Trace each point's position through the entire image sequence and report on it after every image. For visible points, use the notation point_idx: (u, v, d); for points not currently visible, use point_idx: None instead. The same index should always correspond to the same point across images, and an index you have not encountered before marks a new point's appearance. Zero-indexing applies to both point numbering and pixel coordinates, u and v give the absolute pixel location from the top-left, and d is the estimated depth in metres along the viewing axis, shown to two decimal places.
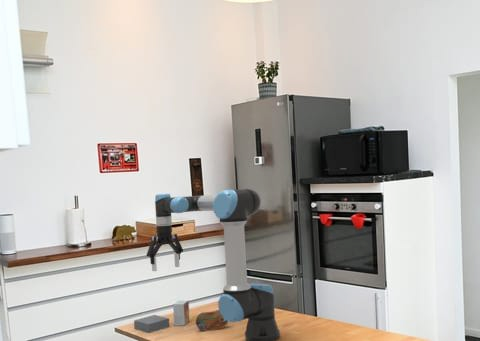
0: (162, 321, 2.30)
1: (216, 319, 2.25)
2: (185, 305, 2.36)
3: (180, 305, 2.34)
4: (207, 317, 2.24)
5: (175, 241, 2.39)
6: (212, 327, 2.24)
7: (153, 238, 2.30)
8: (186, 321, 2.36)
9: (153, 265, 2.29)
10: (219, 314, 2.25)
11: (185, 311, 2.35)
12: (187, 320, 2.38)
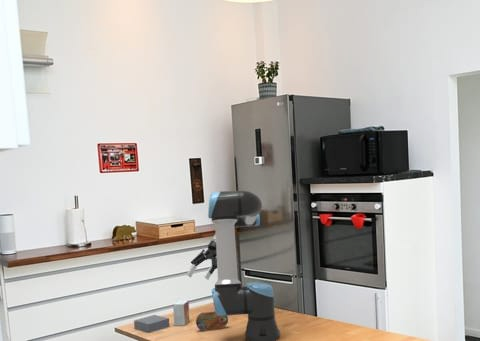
0: (162, 321, 2.30)
1: (216, 319, 2.25)
2: (185, 305, 2.36)
3: (180, 305, 2.34)
4: (207, 317, 2.24)
5: None
6: (212, 327, 2.24)
7: None
8: (186, 321, 2.36)
9: None
10: None
11: (185, 311, 2.35)
12: (187, 321, 2.38)
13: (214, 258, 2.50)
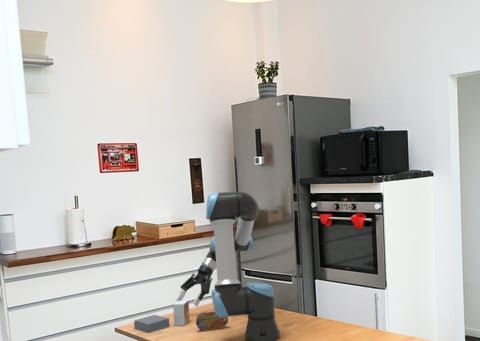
0: (162, 321, 2.30)
1: (216, 319, 2.25)
2: (185, 305, 2.36)
3: (180, 305, 2.34)
4: (207, 317, 2.24)
5: None
6: (212, 327, 2.24)
7: None
8: (186, 321, 2.36)
9: None
10: None
11: (185, 311, 2.35)
12: (187, 320, 2.38)
13: (204, 283, 2.45)
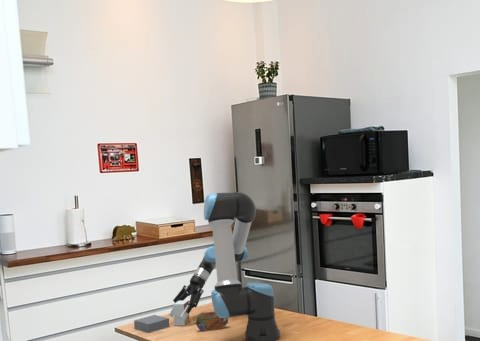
0: (162, 321, 2.30)
1: (216, 319, 2.25)
2: (185, 305, 2.36)
3: (180, 305, 2.34)
4: (207, 317, 2.24)
5: None
6: (212, 327, 2.24)
7: None
8: (186, 321, 2.36)
9: None
10: None
11: None
12: (187, 320, 2.38)
13: (194, 295, 2.40)
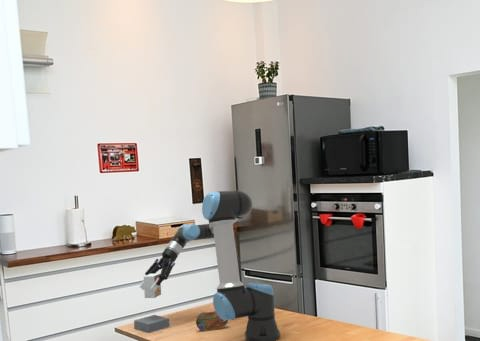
0: (162, 321, 2.30)
1: (216, 319, 2.25)
2: (156, 277, 2.33)
3: (150, 277, 2.31)
4: (207, 317, 2.24)
5: None
6: (212, 327, 2.24)
7: None
8: (157, 294, 2.33)
9: None
10: None
11: None
12: (158, 293, 2.35)
13: (165, 268, 2.37)
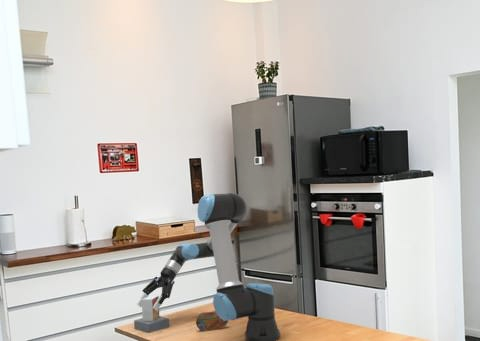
0: (162, 321, 2.30)
1: (216, 319, 2.25)
2: (154, 300, 2.32)
3: (148, 300, 2.30)
4: (207, 317, 2.24)
5: None
6: (212, 327, 2.24)
7: None
8: (155, 317, 2.32)
9: None
10: None
11: None
12: (157, 316, 2.34)
13: (165, 286, 2.35)
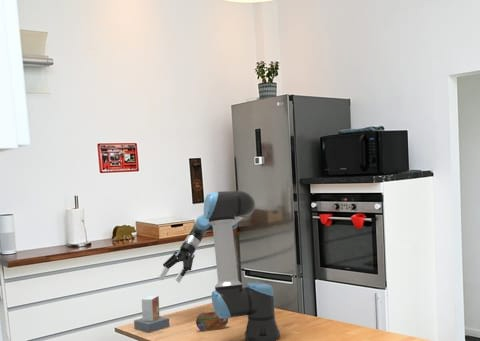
0: (162, 321, 2.30)
1: (216, 319, 2.25)
2: (154, 300, 2.32)
3: (148, 300, 2.30)
4: (207, 317, 2.24)
5: None
6: (212, 327, 2.24)
7: None
8: (155, 317, 2.32)
9: None
10: None
11: (154, 306, 2.31)
12: (157, 316, 2.34)
13: (186, 260, 2.44)
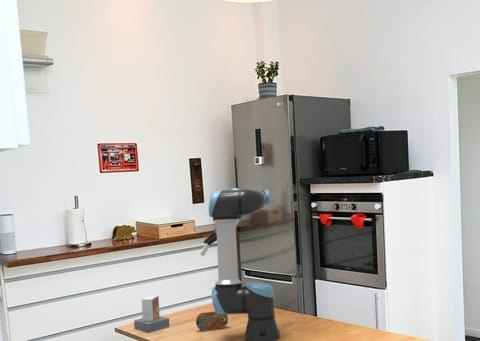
0: (162, 321, 2.30)
1: (216, 319, 2.25)
2: (154, 300, 2.32)
3: (148, 300, 2.30)
4: (207, 317, 2.24)
5: None
6: (212, 327, 2.24)
7: None
8: (155, 317, 2.32)
9: None
10: (219, 314, 2.25)
11: (154, 306, 2.31)
12: (157, 316, 2.34)
13: None
